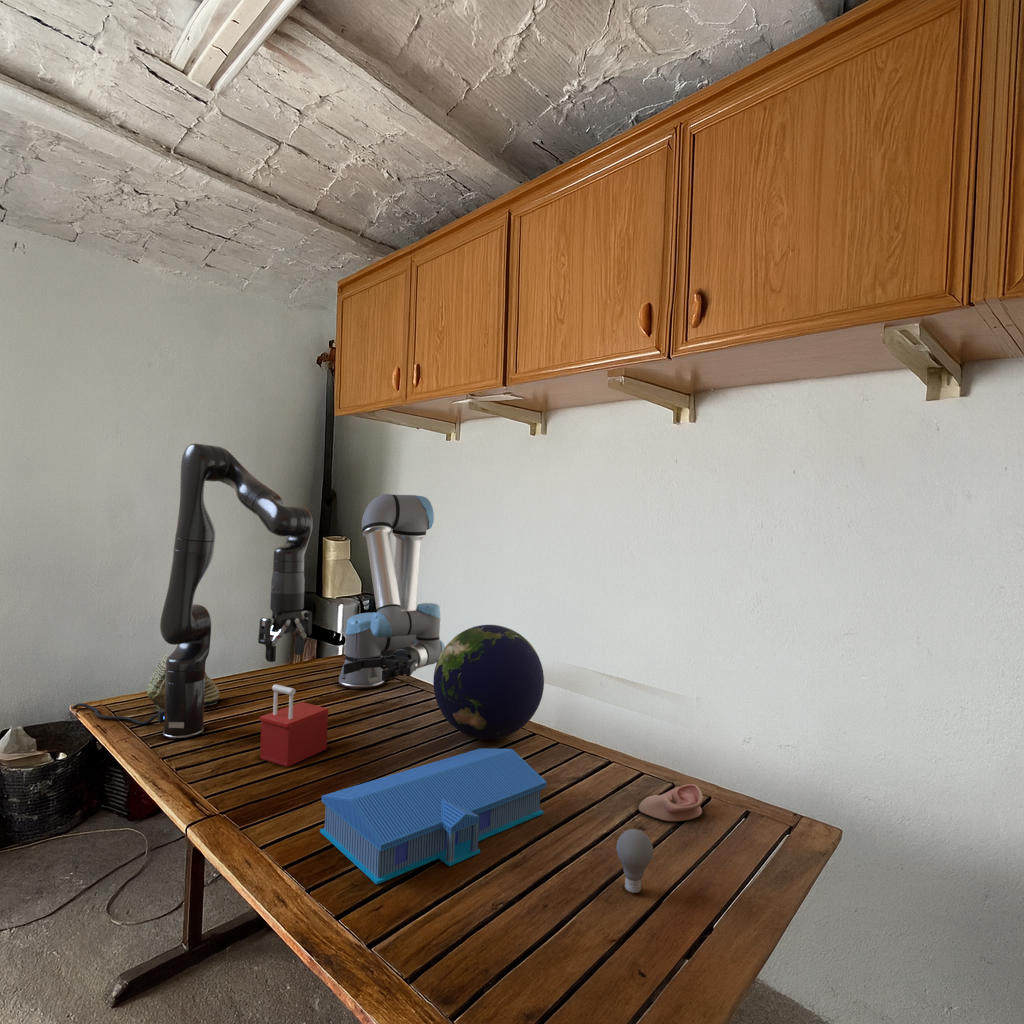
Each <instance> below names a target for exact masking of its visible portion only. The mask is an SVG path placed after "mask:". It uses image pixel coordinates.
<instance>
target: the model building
mask: <svg viewBox="0 0 1024 1024" xmlns="http://www.w3.org/2000/svg"><path fill="white" fill-rule="evenodd" d="M547 786H548V781H546V780H545V779H544V778H543V777H542V776H541V775H540V774H539V773H538V772H537V771H536V770H535V769H534V768H533V767H532V766H531V765H529V763H528V762H527V761H526V760H524V758H523V757H521V755H520V754H519V753H518V752H516V751H515V750H514V749H513V748H482V747H481V748H480V747H479V748H477V749H474V750H471V751H467V752H464V753H460V754H457V755H454V756H449V757H447V758H444V759H440V760H437V761H434V762H430V763H427V764H423V765H420V766H416V767H413V768H410V769H407V770H403V771H400V772H397V773H393V774H390V775H387V776H384V777H379V778H377V779H374V780H370V781H366V782H363V783H360V784H356V785H354V786H350V787H347V788H344V789H339V790H337V791H333V792H330V793H327V794H323V795H321V802H322V803H323V804H324V805H325V810H324V811H325V813H324V828H321V829H319V833H320V834H321V835H322V836H323V837H324V838H326V839H327V840H328V842H330V843H331V844H332V845H333V846H334V847H336V848H337V850H338V851H340V852H341V853H342V854H343V855H344V856H345V857H346V858H347V859H348V860H349V861H351V863H352V864H354V865H355V866H356V867H357V868H358V869H359V870H360V871H361V872H362V873H363V874H364V875H365V876H367V877H368V878H369V879H370V880H371V881H372V882H373V883H374V884H375V885H381V884H382V883H384V882H387V881H389V880H391V879H394V878H397V877H398V876H401V875H404V874H405V873H408V872H410V871H412V870H415V869H417V868H419V867H422V866H424V865H427V864H429V863H431V862H434V861H436V860H440V861H441V862H442V863H444V864H445V865H447V866H448V867H452V866H455V865H456V864H458V863H461V862H463V861H465V860H467V859H470V858H473V857H474V856H477V855H479V854H481V849H480V848H479V842H481V841H483V840H486V839H487V838H490V837H492V836H495V835H497V834H499V833H502V832H504V831H506V830H509V829H511V828H513V827H516V826H518V825H520V824H523V823H525V822H527V821H530V820H532V819H534V818H537V817H539V816H542V815H544V813H545V811H544V810H542V809H541V792H542V791H541V790H544V789H546V788H547Z"/></svg>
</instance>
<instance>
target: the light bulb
mask: <svg viewBox="0 0 1024 1024" xmlns="http://www.w3.org/2000/svg"><path fill="white" fill-rule="evenodd" d="M615 849H616V854H617V857H618V859H619V861H620V863H621V865H622V867H623V873H624V874H623V875H624V876H625V878H624V888H625V890H627V891H628V892H630V893H634V894H635V893H639V892H640V891H641V889H642V887H641V886H642V879H643V877H644V875H645V871H646V868H647V867H648V866H649V864H650V863H651V861H652V859H653V855H654V847H653V843H652V841H651V838H649V836H648V835H647V834H646V833H645V832H643V831H642V830H641V829H636V828H629V829H627V830H625V831H623V832H622V833H621V834H620V835H619V837H618V839H617V841H616V847H615Z"/></svg>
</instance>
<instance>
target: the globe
mask: <svg viewBox="0 0 1024 1024" xmlns="http://www.w3.org/2000/svg"><path fill="white" fill-rule="evenodd" d="M444 646H445V648H444V649H443V651H442V652H441V654H440V656H439V659H438V661H437V662H436V663H435V667H434V670H433V671H434V672H433V680H432V681H433V682H432V683H433V693H434V697H435V701H436V704H437V707H438V709H439V710H440V712H441V714H442V715H443V717H444V718H445V720H446V721H447V722H448V723H449V724H450V725H451V726H452V727H453V728H455V730H458V731H459V732H460V733H462V734H463V735H466V736H469V737H471V738H475V739H478V740H497V739H501V738H505V737H508V736H510V735H512V734H514V733H516V732H518V731H519V730H521V729H522V728H523V727H525V725H527V724H528V723H529V722H530V720H531V719H533V717H534V715H535V714H536V712H537V711H538V708H539V706H540V704H541V701H542V699H543V694H544V689H545V675H544V668H543V665H542V662H541V659H540V656H539V655H538V652H537V651H536V649H535V647H534V646H533V645H532V644H531V642H530V641H528V639H526V638H525V637H524V636H523V635H522V634H520V633H519V632H518V631H516V630H514V629H512V628H509V627H506V626H503V625H499V624H481V625H476V626H472V627H469V628H467V629H465V630H463V631H461V632H460V633H458V634H456V635H455V636H454V637H453V638H452V639H451V640H449V642H448V643H446V645H444Z"/></svg>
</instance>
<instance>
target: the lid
mask: <svg viewBox="0 0 1024 1024" xmlns="http://www.w3.org/2000/svg"><path fill="white" fill-rule="evenodd" d="M271 690H272V691H273V705H272V707H273V708H272V712H269V713H266V714H263V715H261V716H259V721H264V722H268V723H272V724H275V725H279V726H282V727H286V728H288V727H291V726H293V725H296V724H298V723H301V722H303V721H306V720H309V719H311V718H314V717H316V716H319V715H321V714H324V713H327V712H328V713H329V708H328V707H325V706H319V705H315V704H312V703H307V702H304V701H300V702H297V703H295V704H294V695H295V694H296V688H293V687H290V686H285V685H280V684H277V683H275V684H273V685H272V687H271ZM279 694H283V695H288V706H286V707H284V708H280V709H278V703H279V701H278V700H279Z"/></svg>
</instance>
